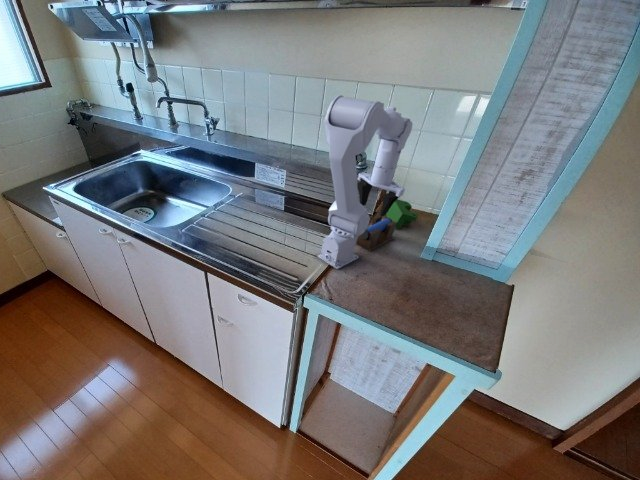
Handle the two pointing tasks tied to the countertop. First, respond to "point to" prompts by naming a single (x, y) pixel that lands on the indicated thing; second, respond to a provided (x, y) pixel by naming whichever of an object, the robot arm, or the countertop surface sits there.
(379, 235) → the holder
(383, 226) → the handle
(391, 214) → the clamp
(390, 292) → the countertop surface
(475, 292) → the countertop surface
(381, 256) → the countertop surface
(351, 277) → the countertop surface
